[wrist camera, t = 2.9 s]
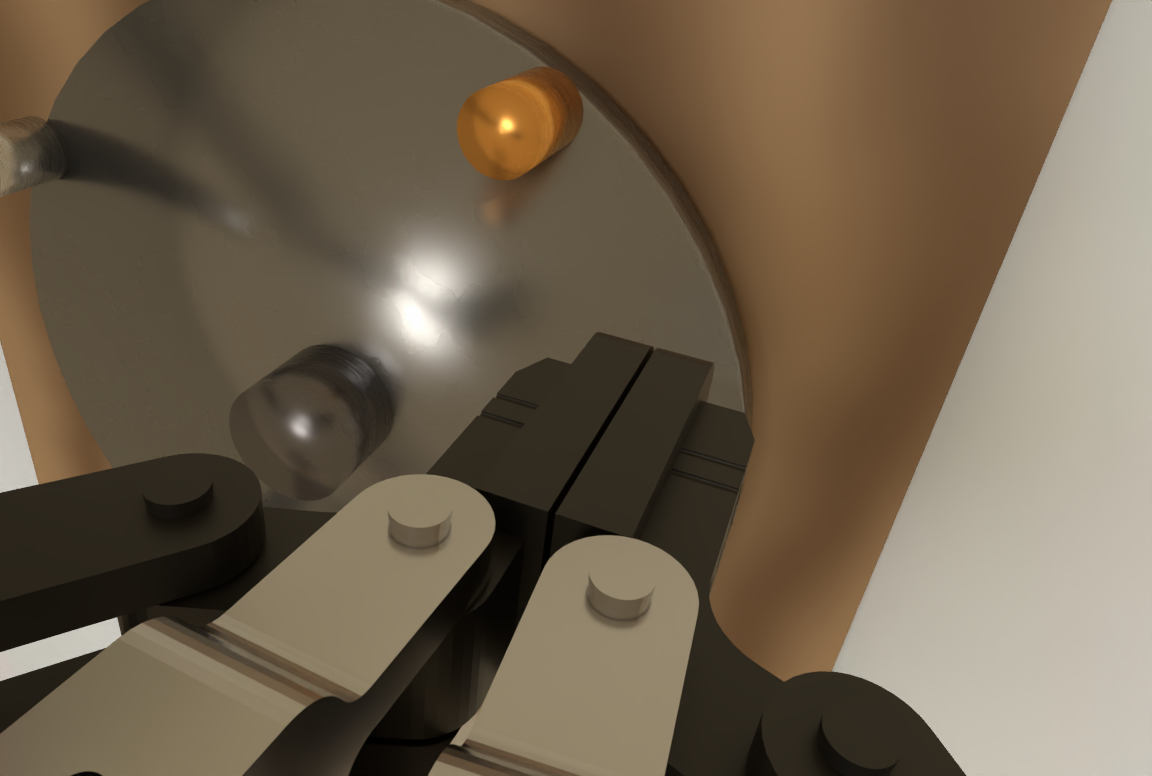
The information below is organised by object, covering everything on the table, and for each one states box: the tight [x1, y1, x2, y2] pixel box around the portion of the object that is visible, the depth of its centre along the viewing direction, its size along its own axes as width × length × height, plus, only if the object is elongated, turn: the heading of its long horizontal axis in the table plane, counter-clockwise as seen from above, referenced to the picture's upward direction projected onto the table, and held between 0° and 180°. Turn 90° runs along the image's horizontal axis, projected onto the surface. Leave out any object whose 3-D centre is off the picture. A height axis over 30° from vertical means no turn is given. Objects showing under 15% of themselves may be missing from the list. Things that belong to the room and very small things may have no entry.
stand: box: [0, 0, 1112, 711], centre depth 27 cm, size 32×30×3 cm
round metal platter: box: [0, 0, 753, 529], centre depth 24 cm, size 23×23×4 cm
